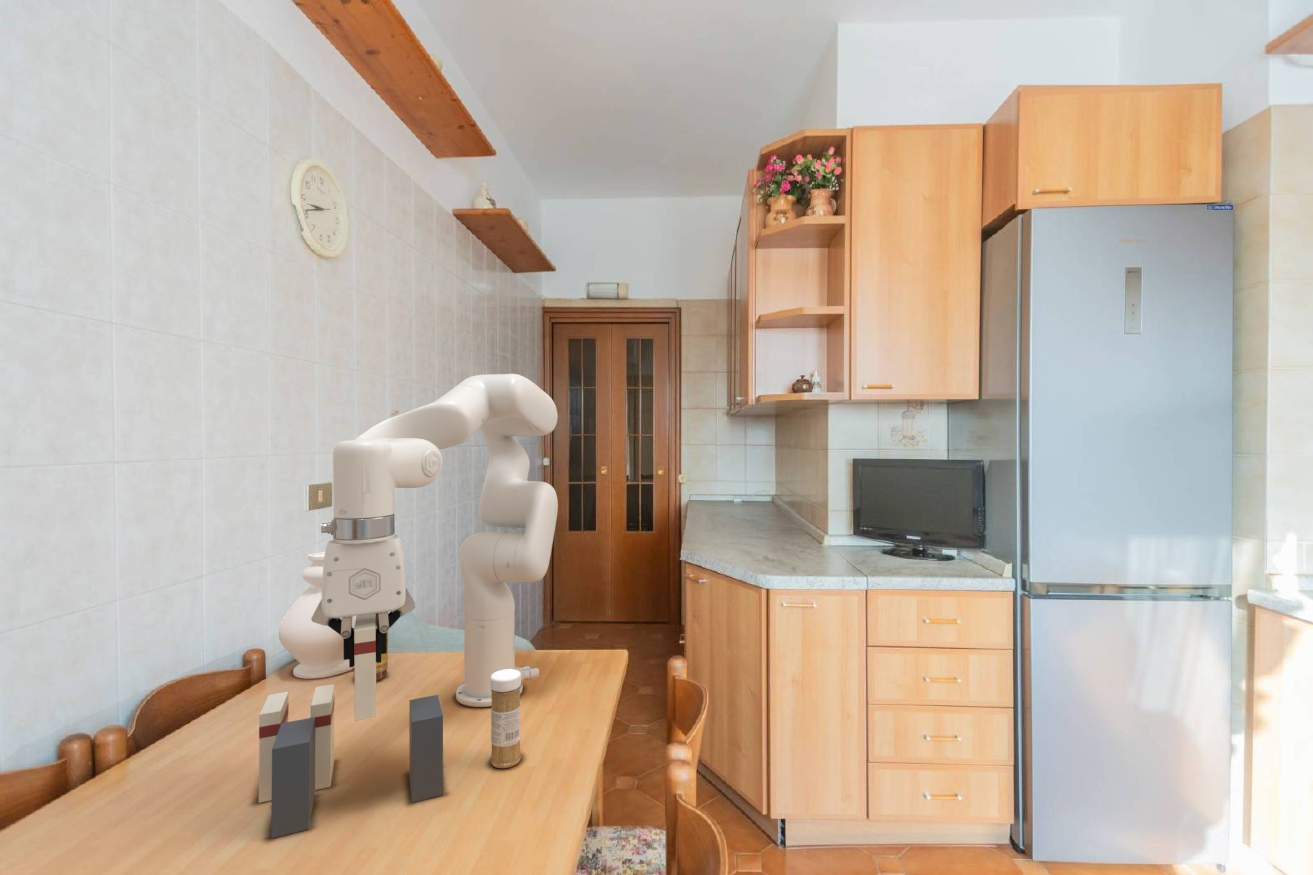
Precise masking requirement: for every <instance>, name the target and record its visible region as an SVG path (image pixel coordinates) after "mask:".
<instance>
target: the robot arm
mask: <svg viewBox="0 0 1313 875" xmlns="http://www.w3.org/2000/svg"><path fill="white" fill-rule="evenodd" d="M558 417H559V416H558V409H557V406H556V404H555V402H554V400H553V398H551V396H550V395H549V394H548V393H547V392H545V391H544V390H543V389H542V388H540V387H539V386H538V385H537V384H536V383H535V382H533V381H532V380H530V379H529V378H527V377H525V376H523V375H521V374H518V373H497V374H496V373H495V374H494V373H493V374H490V373H489V374H476V375H472V376H469V377H467V378H465V379H463V380H462V381H461V382H460V383H458V384H457V385H455V386H454V387H453V388H451V389H450V390H449V391H447V392H446V393H445V394H443V395H442V396H440V397H439V398H438V399H436V400H435V401H433V402H431V403H428V404H424V405H422V406H420V407H416V408H414V409H411V410H409V411H407V412H404V413H400V414H398V415H395V416H392V417H389V418H387V419H384V420H382V421H380V422H378V423H376V424H374V425H373V426H372V427H370V428H368V429H366V430H365V431H364V432H363V433H361V434H360V435H358V436H357V437H356V438H354V439H348V440H342V441H339V442H338V443H336V444H335V445H334V448H333V452H332V467H333V468H332V470H333V471H332V472H333V473H332V474H333V476H332V477H333V478H332V479H333V480H332V481H333V482H332V483H333V484H332V485H333V486H332V488H333V519H331V521H327V522H321V524H320V525H321V527H320V532H321V534H330V536H332V538H333V539H330V540H329V541H328V542H327V543H326V546H325V557H324V565H323V580H322V599H321V601H320V602H319V604H318V606H317V608H316V610H315V612H314V614H313V616H312V622H314V623H318V624H321V625H326V626H329V627H330V628H331V629H333V630H334V631H336V632H337V633H338V634H340V635H341V637H342V638H343V639H344V660H348V659H349V668H350V667H354V628H352V616H358V615H366V614H374V613H378V617H379V624H378V625H377V630H376V662H377V663H381V654H386V653H387V632H388V633H389V630H390V628H391V627H392V626H393V625H395V623H396V622H397V621H398V620H399V619H400V618H401V617H403V616H405V615H407V614H409V613H410V612H413V611H414V610H415V609H416V603H415V601H414V599H413V597H412V595H411V594H410V592H409V590H408V589H407V583H406V569H405V568H406V565H405V564H406V563H405V554H404V548H403V542H402V539H401V536H400V535H398V534H395V533H396V532H395V530H396V529H395V489H419V488H423V487H426V486H428V485H430V484H433V482H435V481H436V480H437V478H438V477H439V476H440V474H441V473H442V470H443V465H444V464H443V462H444V461H443V460H444V459H443V455H442V452H441V451H440V450H444V449H448V448H452V447H455V446H457V445H461V444H463V443H464V442H466V441H468V440H469V439H470V438H471V437H472V436H473V435H474V434H475V433H477V431H478V430H480V432H481V435H482V438H483V440H484V443H485V446H486V449H487V454H488V463H487V467H486V468H487V469H486V473H485V477H484V481H483V486H482V489H481V490H482V491H481V495H480V500H479V505H478V516H479V519H480V521H481V522H482V523H483V524H484V525H487V526H490V527H494V528H495V527H496V528H512V529H513V528H514V529H515V528H516V529H525V532H510V531H509V532H508V531H481V532H476V533H473V534H470V535H469V536H467V537H466V538H465V539H464V541H463V542H462V543H461V545H460V547H459V552H458V563H459V570H460V574H461V579H462V585H463V596H464V598H463V599H464V600H463V601H464V649H463V650H464V652H463V653H464V660H463V662H464V665H463V666H464V668H463V669H464V670H463V672H464V673H463V674H464V677H463V678H464V682H463V683H462V684H461V685H459V686H458V687H457V688H456V691H455V699H456V701H457V702H458V703H459V704H461V705H464V706H467V707H474V708H488V707H489V708H490V707H492V691H491V688H490V678H491V675H492V674H493V673H495V672H497V671H499V670H504V669H515V670H518V671H519V672H520V673H521V685H520V695H521V694H522V693H523V688H524V684H523V682H524V681H526V680H534V679H539V677H540V670H539V668H538V667H534V668H530V667H531V666H530V665H527V666H522V667H518V666H517V665H516V662H515V661H516V660H515V659H516V658H515V657H516V646H515V645H516V643H515V642H516V637H515V636H516V605H515V604H516V603H515V599H514V598H515V597H514V594H513V592H512V590H511V589H510V586H509V585H508V583H514V584H516V583H517V584H534V583H538V582H540V581H542V580H543V579H544V577H545V576H546V574H547V572H548V569H549V565H550V560H551V555H552V549H553V543H554V537H555V531H556V525H557V520H558V511H559V502H558V501H559V500H558V495H557V493H556V492H557V491H556V490H555V488H554V487H553V486H552V484H550V483H548V482H546V481H541V480H540V481H539V480H528V479H529V472H530V467H531V466H530V465H531V463H530V458H529V455H528V453H527V452H526V450H525V448H524V447H523V446H522V445H521V443H520V442H519V440H518V439H517V438H516V437H540V436H541V437H542V436H546V435H549V434H551V433H552V432H553V431H554V430H555V428H556V426H557V423H558ZM340 618H342V619H340ZM354 668H355V667H354Z"/></svg>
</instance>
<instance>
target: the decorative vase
mask: <svg viewBox="0 0 1313 875" xmlns="http://www.w3.org/2000/svg"><path fill="white" fill-rule="evenodd" d="M325 551H326V550H325ZM325 551H318V552H312V553H309V554H307V560H309V561H311V562H310V563H309V564H308V565H307V566H306V567H305V568H304V569H303V571H302V575H301V576H302V579H303V580H304V581H305V582H306V583H307V584H309V585H310V586H309V587H308V588H307V589H306V590H305V591H304V592H303V593H301V595H300V596H299V597H298V598H297V599H296V600H295V601H294V602H293V603H292V605H291V606H290V607H289V609H288V610H287V611H286V613H285V614H284V615H283V618H282V619H281V621H280V623H279V628H278V640H279V642H280V644H281V646H282V647H283V648H284V650H286V651H287V653H288V654H290V655H291V656H292V657H293V658H294V659H295V660H296V661H297V662H298V663H299V664H297V665H295V667H293V670H292V674H293V676H294V677H296V678H299V679H306V680H307V679H309V680H312V679H323V678H330V677H333V676H338V675H340V674H344V673H346V672H349V671H351V670H353V669H355V666H354V667H350V668H349V659H348V660H344V639H343V638H342V637H341V635H340V634H338V633H337V632H336V631H334V630H333V629H331V628H330V627H329V626H326V625H321V624H318V623H314V622H312V616H313V614H314V612H315V610H316V608H317V606H318V604H319V602H320V601H321V599H322V580H323V565H324V557H325ZM340 619H342V618H340ZM355 622H356V616H352V628H354V630H355Z"/></svg>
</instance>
